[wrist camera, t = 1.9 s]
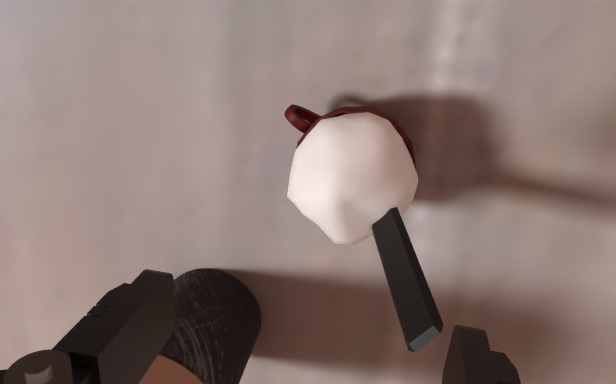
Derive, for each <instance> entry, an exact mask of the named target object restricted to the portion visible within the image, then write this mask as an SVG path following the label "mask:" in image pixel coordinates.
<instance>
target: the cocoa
mask: <svg viewBox="0 0 616 384" xmlns="http://www.w3.org/2000/svg"><path fill="white" fill-rule="evenodd" d="M285 117H286V119H287V120H288V121H289V122H290V123H291V124H292V125H293V126H294V127H295V128H297V129H298V130H299V131H301V132H303V133H304V135H303V136H302V137H301V139H300V140H299V141H298V144H297V148H296V152H295V154H294V159H293V163H292V168H291V173H290V180H289V187H288V194H287V197H288V198H289V199H290V200H291V201H292V202H293V203H294V204H295V205H296V206H297V208H298V209H299V210H300V211H301V213H302V214H303V215H305V216H306V217H308V218H309V219H310V220H312V221H313V222H315V223H316V224H317V225H318V226H319V227H320V228H321V229H322V230H323V231H324V232H325V233H326V234H327V236H328V237H329V238H330V239H331V240H332V241H333V242H334V243H335V244H356V243H358V242H360V241H362V240H364V239H366V238H368V237H369V236H371V235H374V238H375V241H376V245H377V248H378V251H379V255H380V258H381V261H382V264H383V268H384V271H385V274H386V278H387V281H388V284H389V288H390V291H391V294H392V298H393V301H394V304H395V308H396V311H397V314H398V318H399V321H400V324H401V327H402V331H403V334H404V337H405V341H406V344H407V347H408V350H409V351H413V352H416V351H417V350H419V349H420V348H421V347H423V346H424V345H425V344H427V343H428V342H429V341H431V340H432V339H433V338H435V337H436V336H438V335H439V334H440V333H441V332H442V331H443V322H442V320H441V317H440V315H439V312H438V310H437V307H436V305H435V302H434V299H433V297H432V294H431V292H430V289H429V287H428V284H427V282H426V279H425V277H424V274H423V271H422V269H421V266H420V264H419V261H418V259H417V256H416V254H415V251H414V249H413V246H412V243H411V241H410V238H409V236H408V233H407V231H406V228H405V226H404V223H403V221H402V218H401V217H402V215H403V214H404V213H405V211H406V210H407V208H408V207H409V206H410V204H411V203H412V201H413V198H414V195H415V192H416V188H417V185H418V182H419V180H418V176H417V172H416V166H415V160H414V154H413V147H412V142H411V141H410V139H409V138H408V137H407V135H406V134H405V133H404V131H403V130H402V129H401V127H400V126H399V125H398V123H397V122H396V120H394V119H393V118H391V117H389V116H387V115H385V114H383V113H381V112H379V111H377V110H376V109H374V108H372V107H348V106H346V107H342V108H340V109H337V110H335V111H333V112H330V113H328V114H326V115H324V116H319V115H317V114H315V113H314V112H312V111H309V110H307V109H305V108H303V107H300V106H297V105H291V106H289V107H288V108H287V110H286V111H285ZM305 120H306V121H305ZM307 121H308V122H307ZM309 122H310V123H309Z"/></svg>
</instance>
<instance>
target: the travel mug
mask: <svg viewBox="0 0 616 384" xmlns="http://www.w3.org/2000/svg"><path fill="white" fill-rule="evenodd" d="M174 297H175V324H174V328H173V331H172V334H171V336H170V338H169V339H168V341H167V342H166V344H165V345H164V347H163V348H162V350H161V351H160V353H159V354H158V356H157V357H156V359H155V360H154V362H153V363H152V365H151V366H150V368H149V369H148V371H147V372H146V373H145V375H144V376H143V378H142V379H141V381H140V382H139V384H239V382H240V379H241V377H242V374H243V372H244V369H245V367H246V364H247V362H248V359H249V357H250V354H251V352H252V349H253V347H254V344H255V341H256V339H257V336H258V333H259V330H260V325H261V315H260V310H259V306H258V304H257V302H256V300H255V298H254V296H253V295H252V293H251V292H250V291H249V290H248V289H247V288H246V287H245V286H244V285H243V284H242V283H241V282H240V281H238V280H237V279H235V278H234V277H232V276H230V275H228V274H226V273H223V272H220V271H217V270H212V269H196V270H191V271H188V272H186V273H184V274H182V275H180V276H179V277H177V278H176V279H175V280H174Z"/></svg>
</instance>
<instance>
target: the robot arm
mask: <svg viewBox="0 0 616 384" xmlns="http://www.w3.org/2000/svg"><path fill="white" fill-rule="evenodd" d="M174 324H175V297H174V279H173V275H172V274H171V273H165V272H160V271H154V270H148V269H146V270H144V271H143V272H142V273H141V274H140V275H139V276H138V277H137V278H136V279H135V280H134V281H133V282H132V283H131V284H127V283H124V284H122V285H120V286H118V287H116V288H114V289H113V290H111V291H109V292H107V293H106V294H105V295H104V297H103V298H102V299H101V300H100V301H99V302H98V303H97V304H96V306H94V307H93V308H92V309H91V310H90V311H89V312H88V313H87V316H84V317H83V318H82V319H81V320H80V321H79V322H78V323H77V324H76V325H75V326H74V327H73V328H72V329H71V330H70V331H69V332H68V333H67V334H66V335H65V336H64V337H63V338H62V339H61V340H60V341H59V342H58V343H57V344H56V346H55V347H54V348H53V349H52V350H42V351H37V352H34V353H31V354H28V355H26V356H24V357H22V358H20V359H19V360H17V361H16V362H15V363H13V364H12V365H11V366H10V367H9V369H8V370H0V384H139V382H140V381H141V379H142V378H143V376H144V375H145V373H146V372H147V371H148V369H149V368H150V366H151V365H152V363H153V362H154V360H155V359H156V357H157V356H158V354H159V353H160V351H161V350H162V348H163V347H164V345H165V344H166V342H167V341H168V339H169V338H170V336H171V334H172V331H173V328H174ZM442 384H521V383H520V379H519V376H518V372H517V369H516V368H515V366H514V365H513V364H512V363H511V361H510V360H509V359H508V358H507V356H506V355H505V354H504V353H500V352H495V351H490V348H489V343H488V339H487V335H486V331H485V330H483V329H477V328H472V327H466V326H460V325H455V327H454V330H453V333H452V337H451V342H450V346H449V350H448V354H447V358H446V362H445V366H444V370H443V377H442Z"/></svg>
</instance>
